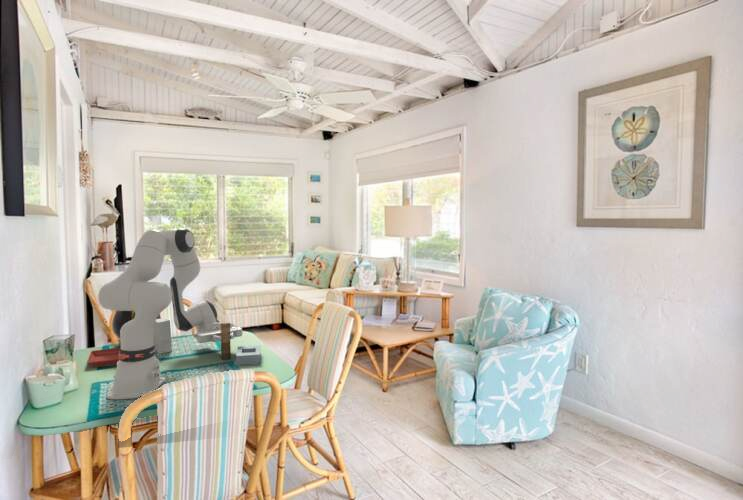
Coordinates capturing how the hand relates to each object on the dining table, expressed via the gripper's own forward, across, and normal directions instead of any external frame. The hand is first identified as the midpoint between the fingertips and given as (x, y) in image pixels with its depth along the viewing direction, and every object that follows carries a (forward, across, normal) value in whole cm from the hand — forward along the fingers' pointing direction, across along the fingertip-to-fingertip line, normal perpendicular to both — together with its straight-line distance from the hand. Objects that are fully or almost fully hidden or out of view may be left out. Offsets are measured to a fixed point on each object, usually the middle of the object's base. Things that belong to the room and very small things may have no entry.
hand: (226, 338), depth 201 cm
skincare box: (-30, -18, +10) cm, 37 cm away
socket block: (+6, +8, +10) cm, 14 cm away
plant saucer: (-30, -39, +10) cm, 50 cm away
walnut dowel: (-1, 0, +10) cm, 10 cm away
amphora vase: (-49, -25, +10) cm, 56 cm away
